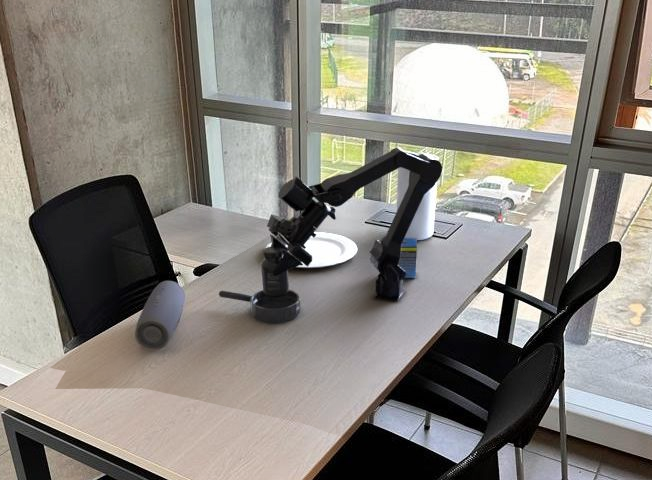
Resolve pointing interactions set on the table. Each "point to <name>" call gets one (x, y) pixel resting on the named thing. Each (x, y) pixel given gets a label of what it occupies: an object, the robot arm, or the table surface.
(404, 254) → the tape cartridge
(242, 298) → the pan handle
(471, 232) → the table surface
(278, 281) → the supplement bottle
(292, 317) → the pan
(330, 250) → the plate
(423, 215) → the cylinder vase
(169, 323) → the bluetooth speaker
